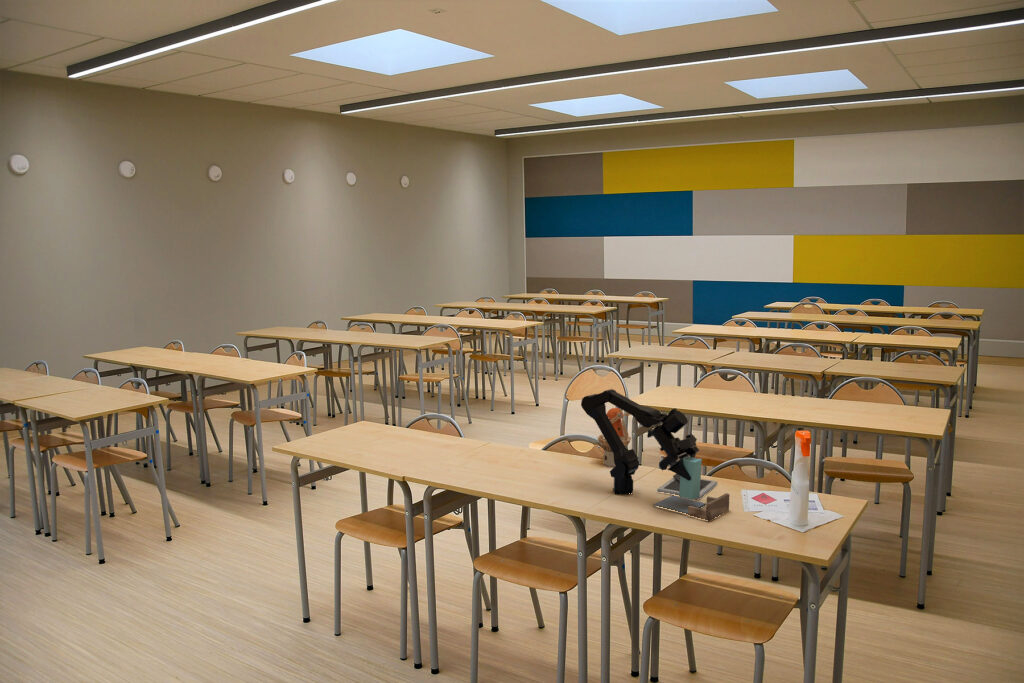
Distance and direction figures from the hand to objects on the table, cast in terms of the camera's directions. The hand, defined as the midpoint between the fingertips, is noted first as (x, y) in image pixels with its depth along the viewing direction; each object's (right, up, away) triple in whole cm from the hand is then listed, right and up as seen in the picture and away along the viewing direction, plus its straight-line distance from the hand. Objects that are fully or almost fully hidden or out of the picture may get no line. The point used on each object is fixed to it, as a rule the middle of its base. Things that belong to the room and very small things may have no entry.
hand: (694, 478), depth 264 cm
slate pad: (-4, -11, +5) cm, 12 cm away
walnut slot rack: (+4, -12, -2) cm, 12 cm away
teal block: (-1, -6, +2) cm, 7 cm away
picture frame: (+3, -9, +24) cm, 26 cm away
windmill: (-21, -4, +55) cm, 59 cm away
